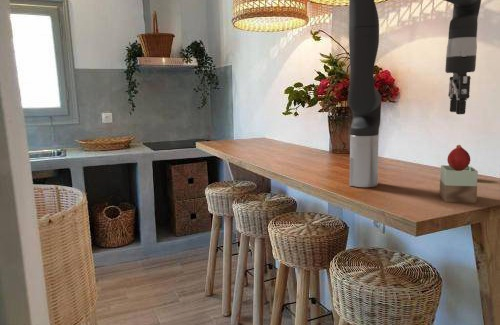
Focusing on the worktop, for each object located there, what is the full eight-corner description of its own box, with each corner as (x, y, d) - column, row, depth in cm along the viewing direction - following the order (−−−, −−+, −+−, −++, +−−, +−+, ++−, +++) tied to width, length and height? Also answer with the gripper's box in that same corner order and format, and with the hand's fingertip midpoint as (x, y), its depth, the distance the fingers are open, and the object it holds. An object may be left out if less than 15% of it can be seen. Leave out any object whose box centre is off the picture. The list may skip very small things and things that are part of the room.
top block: (445, 185, 112) (445, 170, 111) (440, 178, 119) (441, 165, 119) (476, 186, 110) (477, 171, 109) (469, 179, 117) (470, 165, 116)
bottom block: (445, 202, 113) (446, 185, 112) (439, 194, 120) (440, 178, 120) (476, 203, 111) (477, 186, 110) (468, 195, 118) (469, 179, 117)
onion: (449, 169, 118) (450, 143, 117) (471, 171, 115) (472, 143, 113) (445, 173, 114) (445, 145, 112) (467, 174, 110) (468, 146, 109)
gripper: (441, 57, 119) (438, 111, 122) (451, 54, 106) (447, 115, 109) (469, 56, 117) (465, 111, 120) (483, 52, 104) (478, 114, 107)
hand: (457, 113), depth 114 cm, fingers open, 8 cm apart
